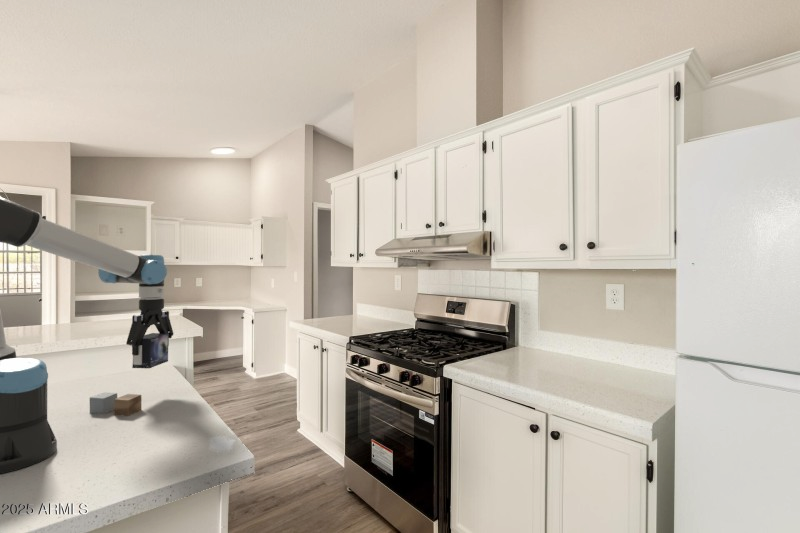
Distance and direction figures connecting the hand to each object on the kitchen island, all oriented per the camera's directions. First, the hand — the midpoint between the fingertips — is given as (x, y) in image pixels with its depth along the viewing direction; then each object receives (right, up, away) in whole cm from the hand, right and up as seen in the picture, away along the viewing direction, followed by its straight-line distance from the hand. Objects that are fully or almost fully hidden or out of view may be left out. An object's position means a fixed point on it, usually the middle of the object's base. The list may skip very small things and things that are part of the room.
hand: (151, 360), depth 138 cm
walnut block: (+2, -13, -14) cm, 19 cm away
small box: (0, -2, 0) cm, 2 cm away
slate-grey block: (-7, -13, -13) cm, 20 cm away
